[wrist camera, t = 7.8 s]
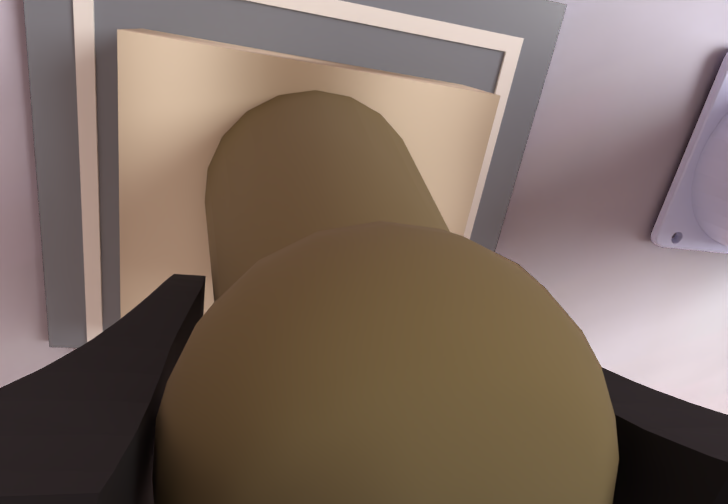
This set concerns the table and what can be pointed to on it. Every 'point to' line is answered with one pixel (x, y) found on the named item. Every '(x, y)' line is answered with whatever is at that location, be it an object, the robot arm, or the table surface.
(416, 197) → the cork
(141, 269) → the birch block
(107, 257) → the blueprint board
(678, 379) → the table surface
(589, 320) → the table surface
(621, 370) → the table surface
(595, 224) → the table surface
